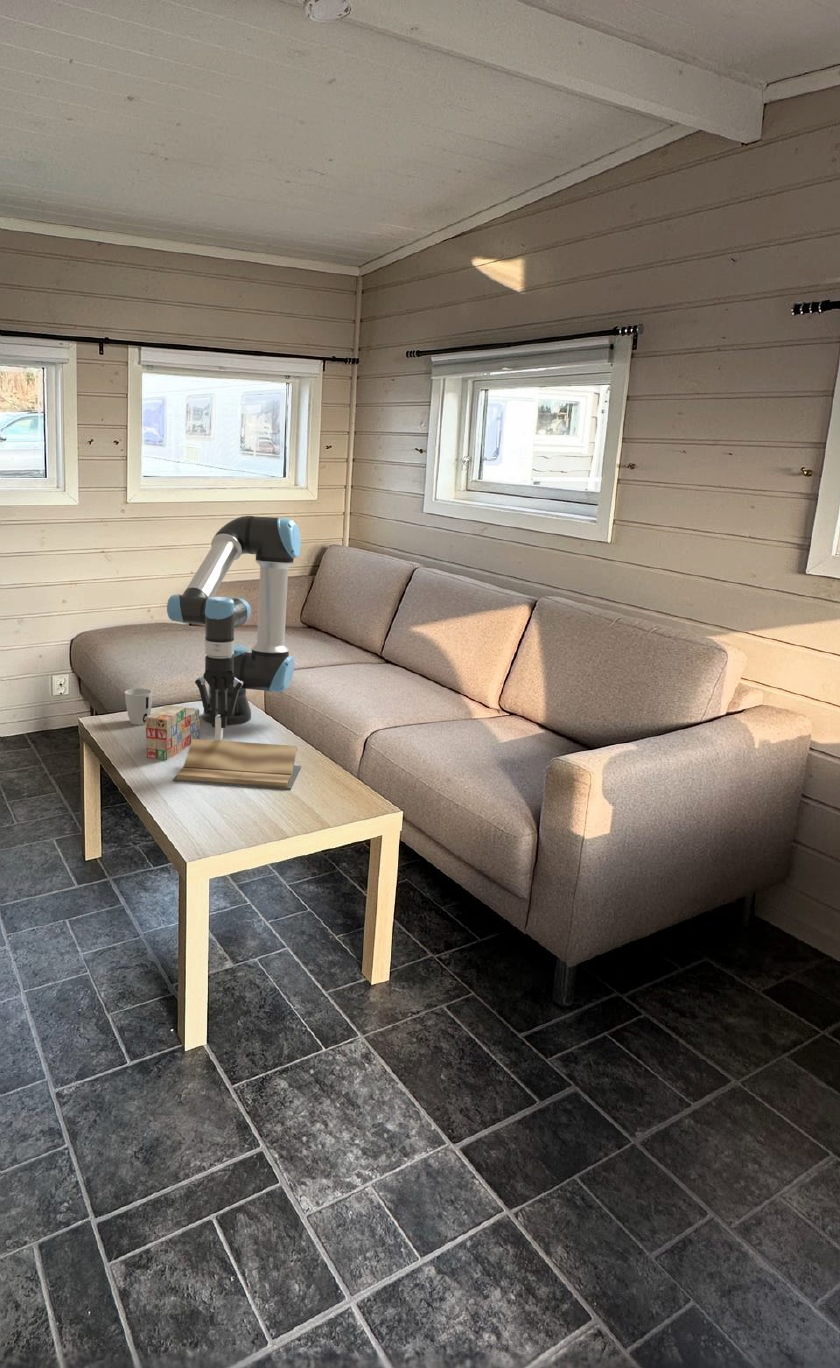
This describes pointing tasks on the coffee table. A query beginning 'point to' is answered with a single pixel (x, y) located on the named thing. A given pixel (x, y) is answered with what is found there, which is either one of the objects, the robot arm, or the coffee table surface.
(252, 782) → the laid plank
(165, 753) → the stack of blocks
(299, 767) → the underlay
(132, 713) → the cup
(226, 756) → the board
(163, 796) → the coffee table surface
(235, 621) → the robot arm
